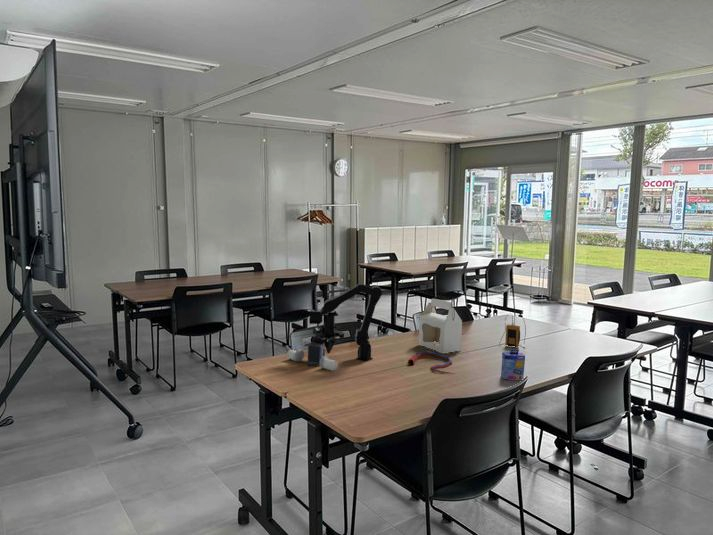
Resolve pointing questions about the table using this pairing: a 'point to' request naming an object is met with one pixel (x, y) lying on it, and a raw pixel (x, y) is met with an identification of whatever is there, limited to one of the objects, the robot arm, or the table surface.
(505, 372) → the ink cartridge box
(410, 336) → the table surface
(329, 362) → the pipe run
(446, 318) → the gable box
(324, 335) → the robot arm
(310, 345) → the small box
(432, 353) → the toy snake
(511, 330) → the multimeter
